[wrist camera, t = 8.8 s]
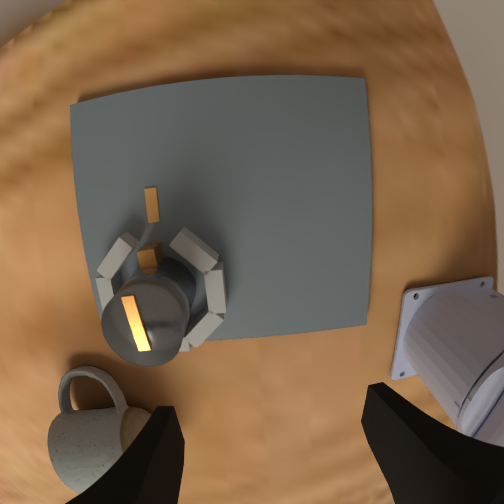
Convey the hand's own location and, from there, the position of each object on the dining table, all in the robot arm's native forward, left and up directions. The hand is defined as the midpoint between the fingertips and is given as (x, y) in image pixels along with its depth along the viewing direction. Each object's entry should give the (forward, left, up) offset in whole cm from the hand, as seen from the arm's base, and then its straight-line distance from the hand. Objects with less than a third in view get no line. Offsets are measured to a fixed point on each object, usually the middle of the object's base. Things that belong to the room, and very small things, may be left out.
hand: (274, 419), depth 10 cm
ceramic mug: (+13, +10, -11) cm, 20 cm away
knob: (+6, -2, -10) cm, 11 cm away
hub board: (+2, -6, -10) cm, 12 cm away
